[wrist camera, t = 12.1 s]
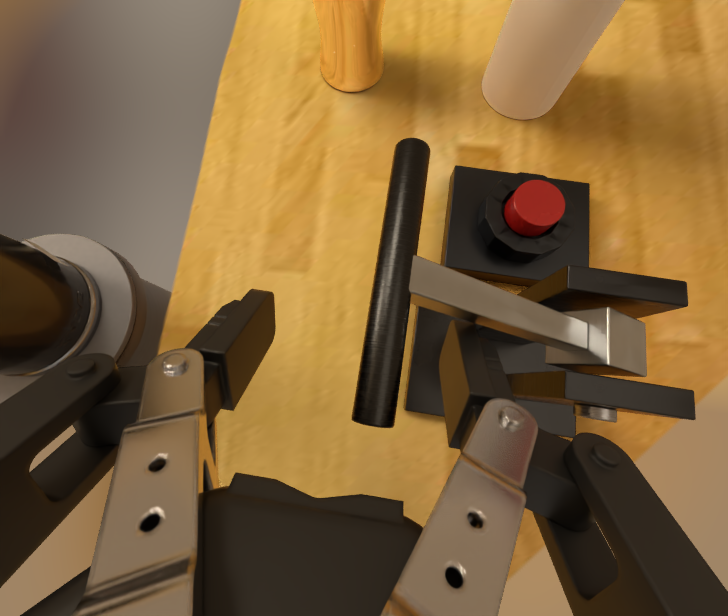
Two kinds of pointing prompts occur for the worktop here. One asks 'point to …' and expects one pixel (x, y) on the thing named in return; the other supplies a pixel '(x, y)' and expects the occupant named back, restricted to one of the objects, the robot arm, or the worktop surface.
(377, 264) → the lever
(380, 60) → the beer glass
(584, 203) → the block
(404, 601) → the robot arm
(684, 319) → the worktop surface
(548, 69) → the cylindrical container
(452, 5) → the worktop surface
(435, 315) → the lever bracket
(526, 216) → the button
